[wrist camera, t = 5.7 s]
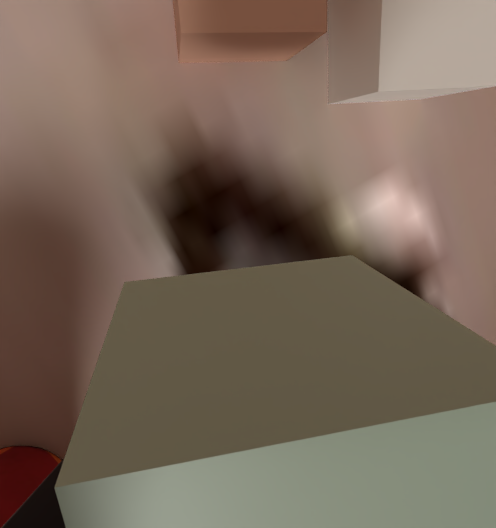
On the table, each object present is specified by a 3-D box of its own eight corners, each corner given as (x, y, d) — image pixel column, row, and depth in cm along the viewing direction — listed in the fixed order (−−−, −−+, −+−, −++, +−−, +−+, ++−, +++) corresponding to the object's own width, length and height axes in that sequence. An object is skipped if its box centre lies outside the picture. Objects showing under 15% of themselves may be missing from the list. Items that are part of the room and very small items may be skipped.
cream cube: (427, -15, 18) (517, -70, 13) (419, 99, 20) (496, 86, 15) (327, -15, 17) (385, -74, 13) (327, 104, 19) (378, 91, 14)
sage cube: (352, 255, 9) (563, 388, 4) (346, 433, 10) (494, 680, 6) (124, 281, 8) (54, 486, 3) (157, 470, 9) (142, 794, 5)
